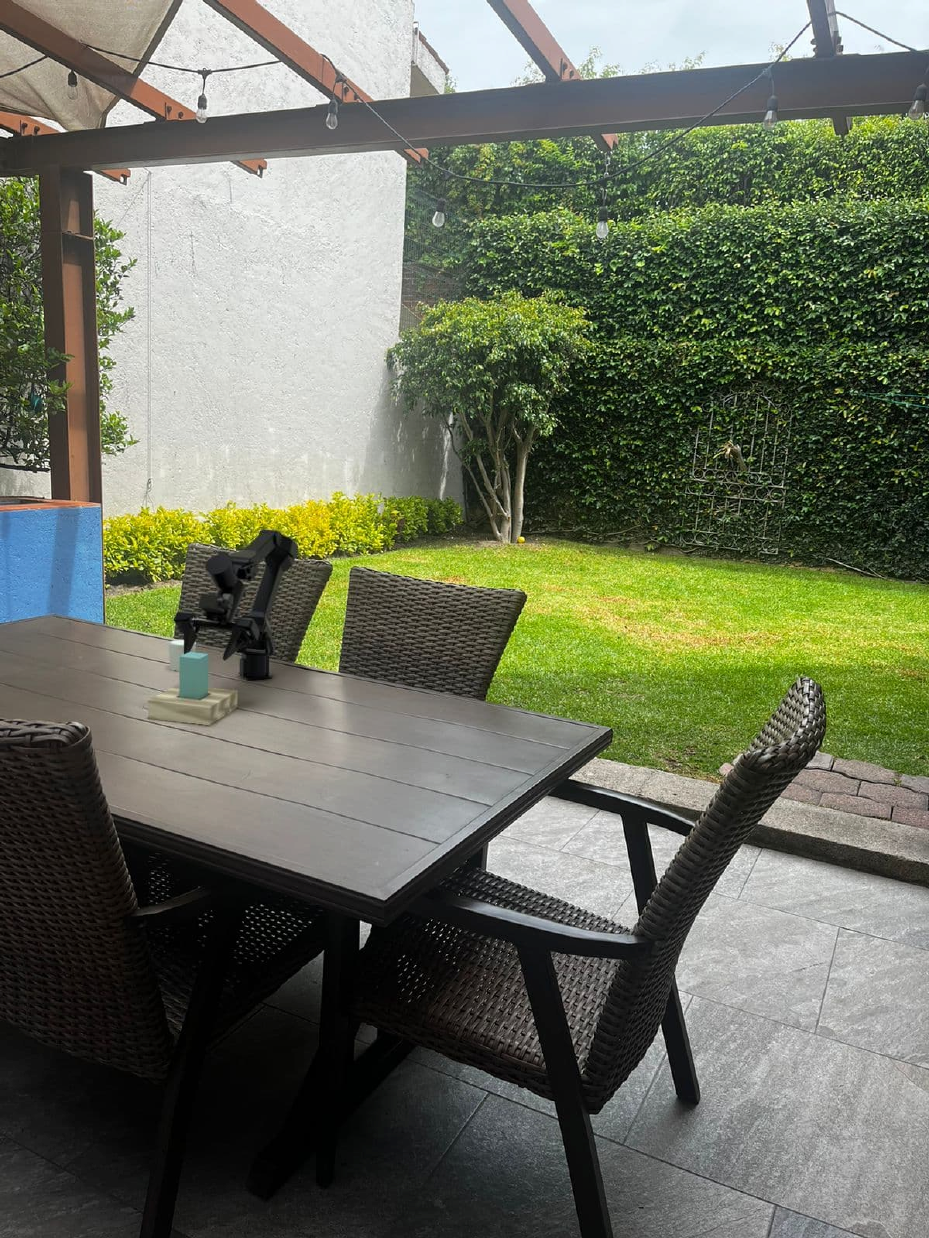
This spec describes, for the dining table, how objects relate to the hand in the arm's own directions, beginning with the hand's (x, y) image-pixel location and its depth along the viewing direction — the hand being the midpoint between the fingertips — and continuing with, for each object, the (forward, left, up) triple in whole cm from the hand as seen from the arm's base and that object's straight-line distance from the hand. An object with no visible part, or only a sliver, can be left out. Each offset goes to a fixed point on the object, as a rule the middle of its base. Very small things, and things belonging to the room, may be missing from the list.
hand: (204, 657), depth 203 cm
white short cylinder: (-7, -34, -12) cm, 36 cm away
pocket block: (+3, +3, -11) cm, 12 cm away
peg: (+3, +3, -11) cm, 12 cm away
